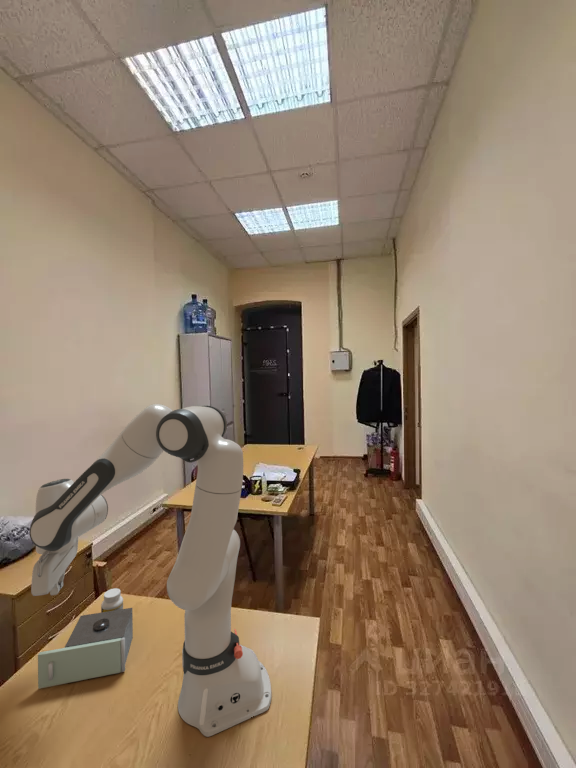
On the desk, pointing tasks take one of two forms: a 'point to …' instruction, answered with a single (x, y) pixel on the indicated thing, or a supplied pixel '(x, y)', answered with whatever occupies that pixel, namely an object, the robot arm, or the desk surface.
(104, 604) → the pill bottle
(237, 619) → the desk surface
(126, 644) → the cabinet box
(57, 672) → the side door
